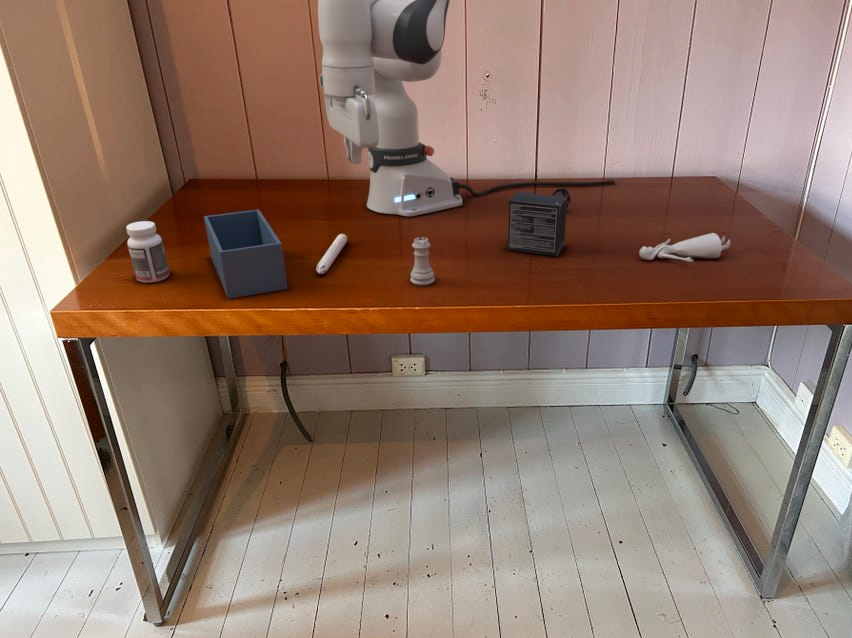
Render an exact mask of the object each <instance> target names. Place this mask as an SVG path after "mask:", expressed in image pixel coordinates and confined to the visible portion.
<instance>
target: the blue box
mask: <svg viewBox="0 0 852 638" xmlns="http://www.w3.org/2000/svg"><path fill="white" fill-rule="evenodd" d="M203 219H204V224H205V230H206V235H207V241H208V245H209V252H210V257H211V260H212V263H213V265H214V267H215V270H216V272H217V276H218V278H219V280H220V282H221V285H222V288H223V290H224V292H225V295H226V297H227V299H234V298H241V297H246V296H253V295H258V294H259V295H260V294H266V293H270V292H277V291H282V290H288V281H287V274H286V267H285V260H284V252H283V246H282V242H281V241H280V240H279V237H278V236H277V235H276V233H275V232H274V230H273V228H272V227H271V226H270V224H269V222H268V221H267V220H266V218H265V217H264V215H263V213H262V211H261V210H260V209H253V210H245V211H236V212H235V211H234V212H229V213H220V214H219V213H218V214H213V215H205V216H203Z"/></svg>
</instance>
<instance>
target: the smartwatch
mask: <svg viewBox="0 0 852 638" xmlns="http://www.w3.org/2000/svg"><path fill="white" fill-rule="evenodd" d="M551 196H560V197H567V208H569V205H570V204H571V196H570V192H569V191H568V190H567V188H566V187H563V188H561V187H560V188H557V189H556V190H554V191H553V193H552V195H551Z"/></svg>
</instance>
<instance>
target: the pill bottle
mask: <svg viewBox="0 0 852 638" xmlns="http://www.w3.org/2000/svg"><path fill="white" fill-rule="evenodd" d="M156 231H157V227H156V224H155V222H154V221H149V220H142V221H135V222H131V223H128V224H127V225H126V234H127V235H128V236H129V238H128V239H127V243H126V244H127V249H128V253H129V255H130V256H129V257H130V261H131V263H132V264H131V265H132V267H133V273H134V275H135V279H136V280H137V281H138V282H140V283H145V284H151V283H158V282H161V281H164V280H166V279H167V278H169V276H170V267H169V264H168V260H167V256H166V252H165V246H164V242H163V239H162V237H161V236H160V235H159V234H158V233H156Z"/></svg>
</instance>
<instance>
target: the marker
mask: <svg viewBox="0 0 852 638" xmlns="http://www.w3.org/2000/svg"><path fill="white" fill-rule="evenodd" d="M347 242H348V237H347V235H346V234H345V233H340V234H338V235H337V236H336V237H335V239H334V241H333V242H332V243H331V245H330V246H329V248H328V249H327V250H326V251H325V253H324V255H323V256H322V258H321V259H320V260H319V262H318V263H317V265H316V267H315V270H316V272H317V275H324V274H326V273H327V272H328V271H329V270H330V268H331V266H332V264H333V263H334V262H335V260H336V259H337V257H338V255H339V254H340V252H341V251H342V250H343V248H344V247H345V246H346V244H347Z"/></svg>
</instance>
